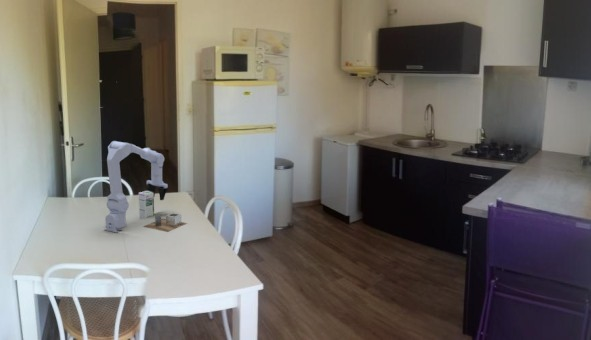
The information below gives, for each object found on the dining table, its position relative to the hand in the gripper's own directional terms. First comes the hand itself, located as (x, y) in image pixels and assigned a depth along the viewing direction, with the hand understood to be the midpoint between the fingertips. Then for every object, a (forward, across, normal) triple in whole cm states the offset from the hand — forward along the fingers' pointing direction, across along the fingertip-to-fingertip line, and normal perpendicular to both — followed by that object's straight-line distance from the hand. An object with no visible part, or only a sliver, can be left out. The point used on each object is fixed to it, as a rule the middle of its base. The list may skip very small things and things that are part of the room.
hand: (157, 198), depth 265 cm
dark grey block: (+9, -15, +13) cm, 22 cm away
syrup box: (+10, +2, +6) cm, 12 cm away
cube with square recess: (+8, -20, +7) cm, 23 cm away
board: (+10, -18, +11) cm, 23 cm away
